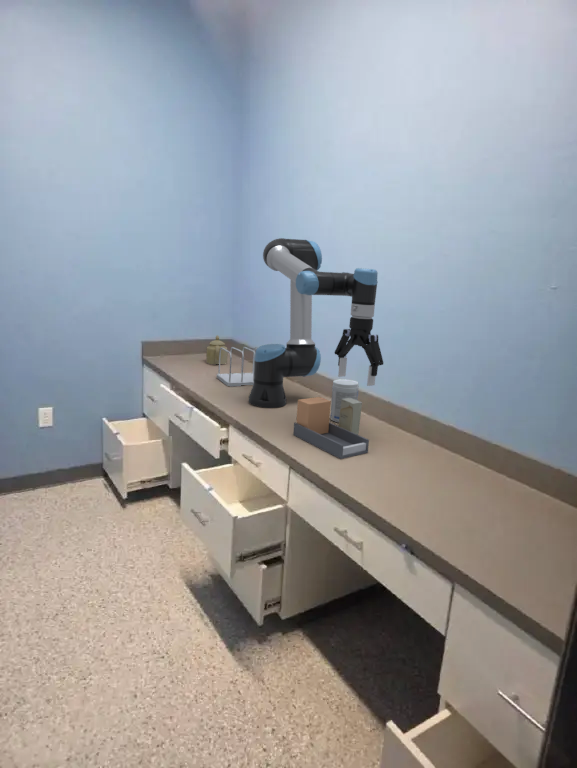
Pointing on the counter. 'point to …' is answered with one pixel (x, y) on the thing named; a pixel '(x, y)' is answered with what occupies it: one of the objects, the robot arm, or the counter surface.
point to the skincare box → (350, 414)
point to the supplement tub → (342, 395)
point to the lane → (334, 440)
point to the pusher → (314, 414)
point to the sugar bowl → (216, 352)
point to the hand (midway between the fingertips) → (355, 380)
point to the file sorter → (237, 378)
